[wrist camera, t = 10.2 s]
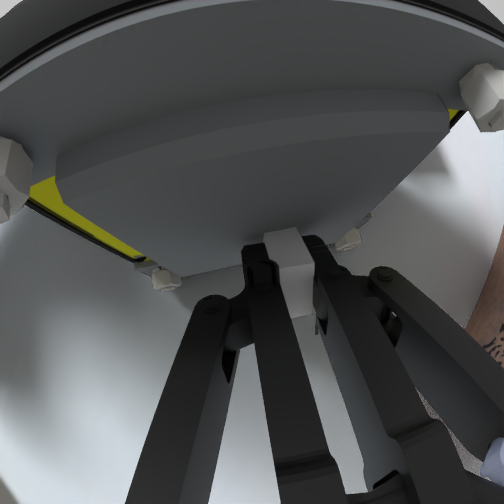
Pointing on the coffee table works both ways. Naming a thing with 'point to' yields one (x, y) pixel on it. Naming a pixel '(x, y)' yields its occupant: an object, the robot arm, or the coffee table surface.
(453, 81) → the electrical component
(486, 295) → the tissue box cover
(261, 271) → the robot arm
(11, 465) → the coffee table surface
